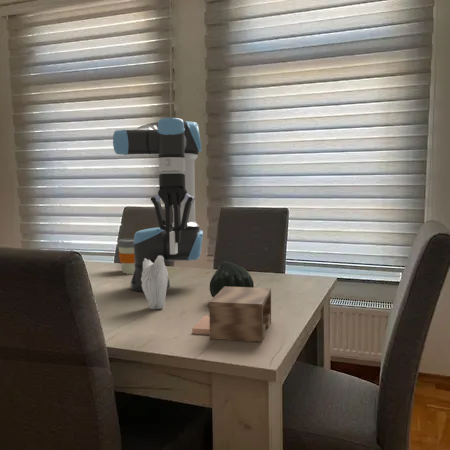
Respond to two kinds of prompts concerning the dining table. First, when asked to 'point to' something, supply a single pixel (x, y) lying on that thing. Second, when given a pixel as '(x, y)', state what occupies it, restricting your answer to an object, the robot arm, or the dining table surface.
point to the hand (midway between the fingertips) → (173, 253)
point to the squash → (229, 277)
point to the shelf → (240, 313)
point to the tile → (202, 326)
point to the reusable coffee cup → (127, 255)
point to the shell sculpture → (155, 282)
